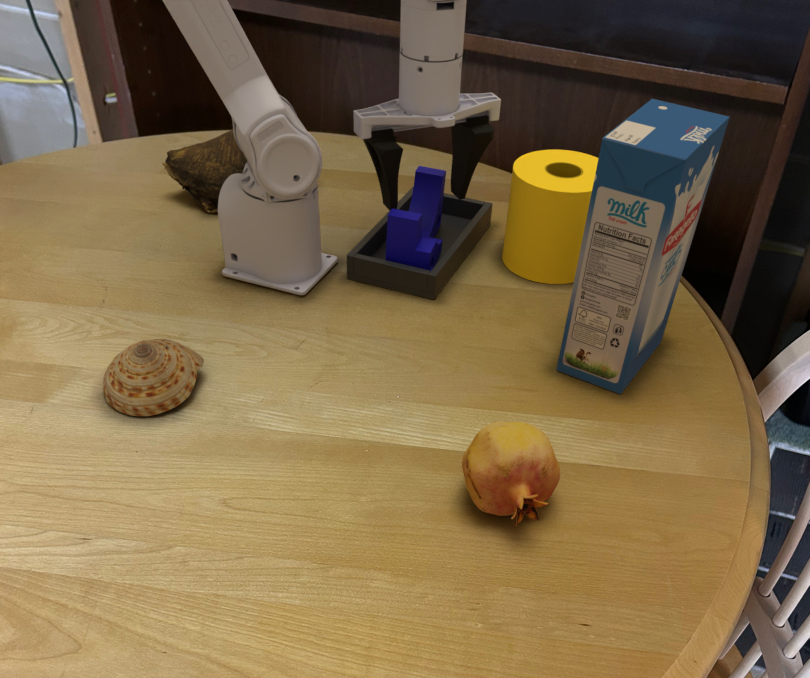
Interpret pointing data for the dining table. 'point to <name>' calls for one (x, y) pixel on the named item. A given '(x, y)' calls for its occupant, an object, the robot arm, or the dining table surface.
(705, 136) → the milk carton
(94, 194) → the dining table surface
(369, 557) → the dining table surface
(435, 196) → the blue piece
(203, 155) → the seashell
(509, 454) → the fruit
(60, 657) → the dining table surface
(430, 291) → the holder
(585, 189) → the yellow toilet paper roll
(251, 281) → the robot arm
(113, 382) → the seashell
